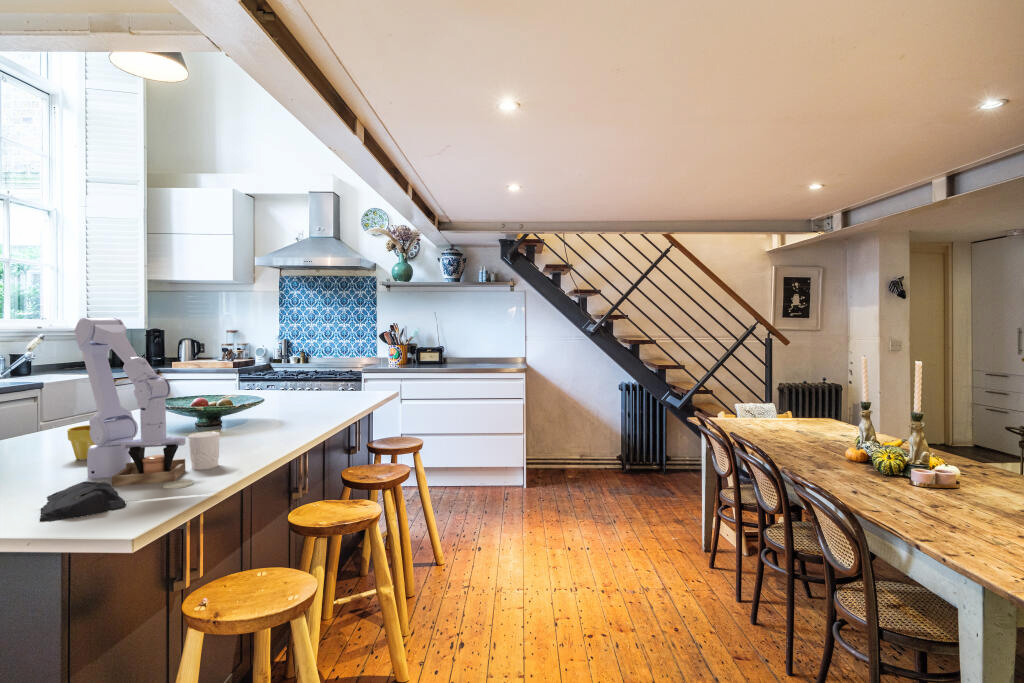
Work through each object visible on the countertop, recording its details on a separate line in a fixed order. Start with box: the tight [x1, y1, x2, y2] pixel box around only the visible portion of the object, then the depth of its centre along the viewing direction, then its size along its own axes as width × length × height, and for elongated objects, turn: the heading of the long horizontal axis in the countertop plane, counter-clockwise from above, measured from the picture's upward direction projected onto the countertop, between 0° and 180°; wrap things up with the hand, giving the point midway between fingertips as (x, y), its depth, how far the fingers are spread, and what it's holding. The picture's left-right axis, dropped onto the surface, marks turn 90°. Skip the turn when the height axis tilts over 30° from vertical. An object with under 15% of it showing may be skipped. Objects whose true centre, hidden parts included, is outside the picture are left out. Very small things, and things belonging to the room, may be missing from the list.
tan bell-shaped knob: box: [142, 454, 165, 473], centre depth 148 cm, size 6×6×6 cm
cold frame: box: [111, 458, 186, 487], centre depth 148 cm, size 14×11×4 cm
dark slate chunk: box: [39, 480, 127, 523], centre depth 128 cm, size 15×22×5 cm
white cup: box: [188, 431, 221, 471], centre depth 160 cm, size 8×8×10 cm
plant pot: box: [66, 424, 96, 459], centre depth 174 cm, size 10×10×10 cm
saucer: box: [162, 479, 194, 490], centre depth 141 cm, size 8×8×1 cm
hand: (154, 473), depth 148 cm, fingers closed on tan bell-shaped knob, 5 cm apart
